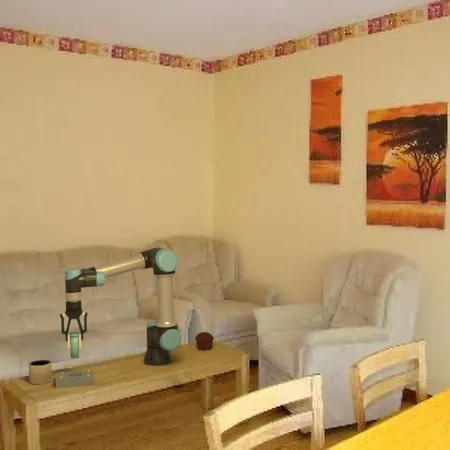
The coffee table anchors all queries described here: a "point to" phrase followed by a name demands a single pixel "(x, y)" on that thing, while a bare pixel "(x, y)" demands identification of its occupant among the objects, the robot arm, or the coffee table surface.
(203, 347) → the muffin
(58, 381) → the grey socket block
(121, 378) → the coffee table surface
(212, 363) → the coffee table surface
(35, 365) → the planter
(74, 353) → the plug
